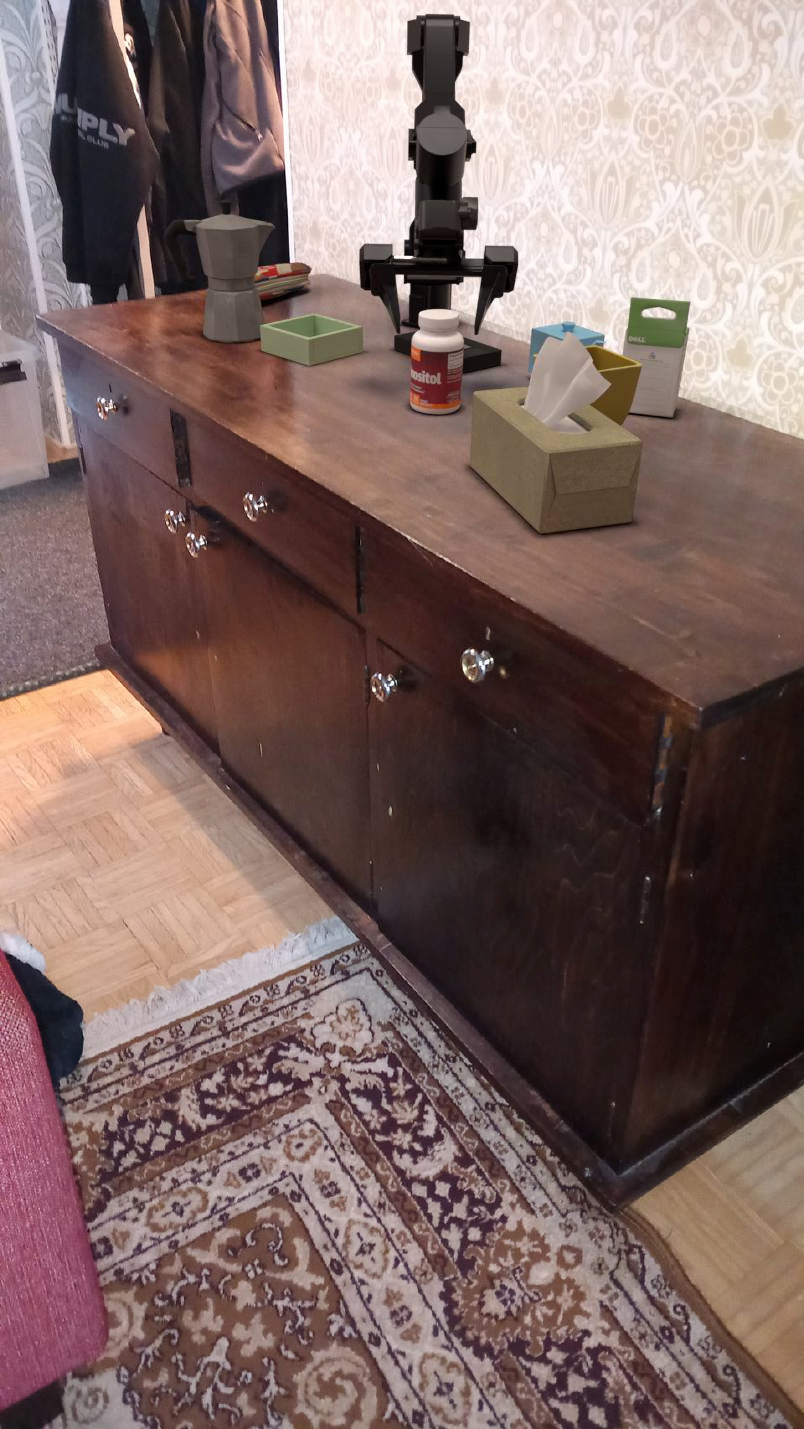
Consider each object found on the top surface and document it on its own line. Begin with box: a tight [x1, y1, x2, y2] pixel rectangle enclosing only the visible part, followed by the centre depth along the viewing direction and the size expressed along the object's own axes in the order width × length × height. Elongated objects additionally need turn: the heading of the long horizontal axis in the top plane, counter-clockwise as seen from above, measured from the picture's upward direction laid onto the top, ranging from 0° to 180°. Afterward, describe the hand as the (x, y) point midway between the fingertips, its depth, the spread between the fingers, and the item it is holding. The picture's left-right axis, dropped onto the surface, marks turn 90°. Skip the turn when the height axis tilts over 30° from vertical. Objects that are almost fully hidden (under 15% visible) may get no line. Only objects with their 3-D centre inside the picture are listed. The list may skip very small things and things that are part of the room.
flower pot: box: [533, 345, 642, 427], centre depth 119 cm, size 9×9×9 cm
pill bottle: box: [409, 309, 464, 415], centre depth 127 cm, size 6×6×11 cm
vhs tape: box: [393, 330, 503, 374], centre depth 148 cm, size 8×14×2 cm, turn 38°
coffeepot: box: [163, 199, 276, 344], centre depth 151 cm, size 15×9×18 cm, turn 103°
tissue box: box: [469, 331, 644, 535], centre depth 103 cm, size 19×10×16 cm, turn 18°
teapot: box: [527, 321, 607, 373], centre depth 136 cm, size 12×6×8 cm, turn 33°
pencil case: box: [255, 261, 313, 303], centre depth 174 cm, size 11×20×5 cm, turn 133°
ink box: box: [621, 296, 692, 418], centre depth 126 cm, size 7×4×13 cm, turn 71°
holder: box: [260, 312, 364, 367], centre depth 149 cm, size 10×10×4 cm
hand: (437, 332), depth 126 cm, fingers open, 9 cm apart
